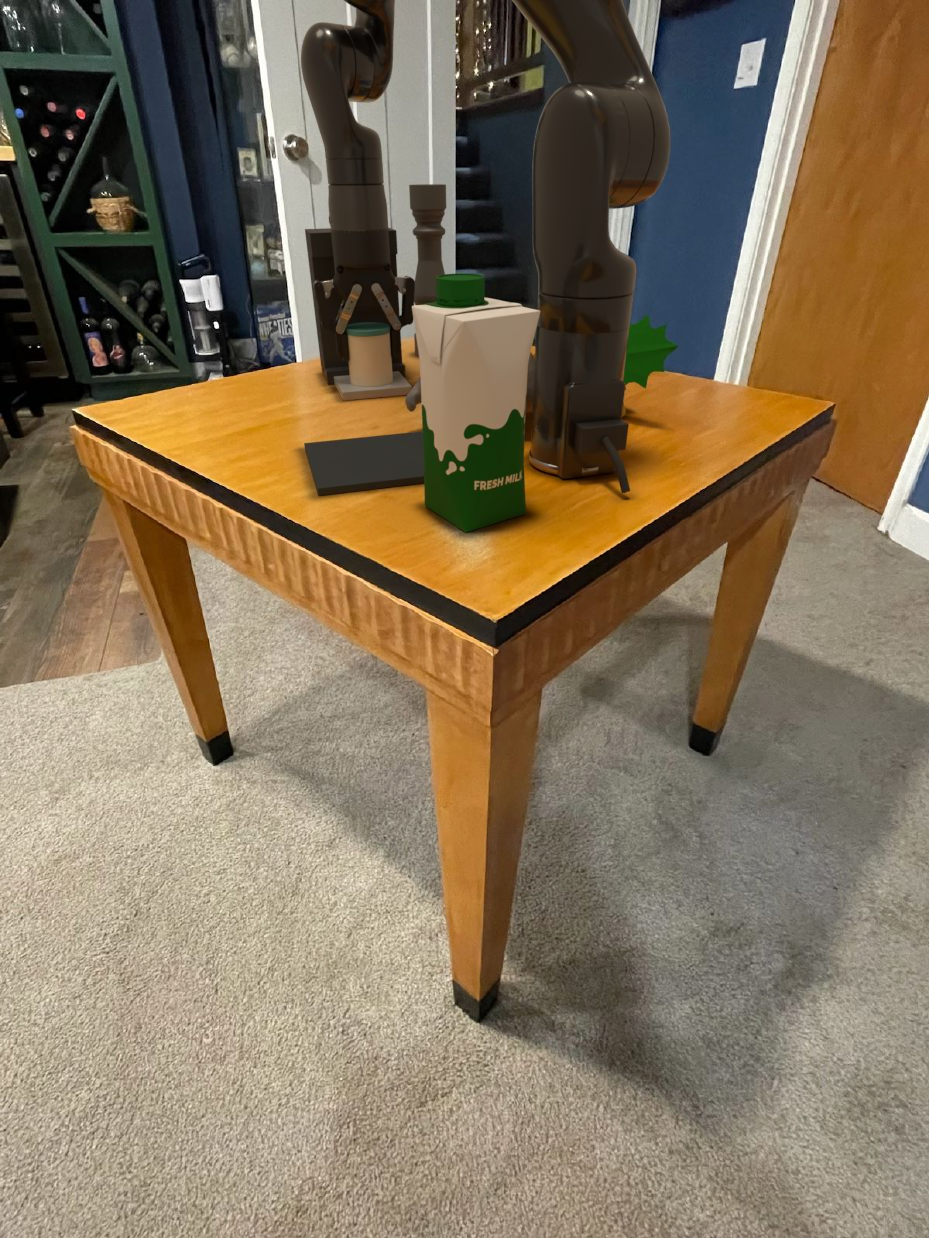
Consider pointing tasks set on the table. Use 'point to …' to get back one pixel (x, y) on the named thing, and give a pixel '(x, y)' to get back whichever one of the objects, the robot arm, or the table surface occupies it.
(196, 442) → the table surface
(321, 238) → the coffee maker
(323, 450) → the mat
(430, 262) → the candle holder
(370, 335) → the container
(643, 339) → the ornament
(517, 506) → the fresh milk carton
